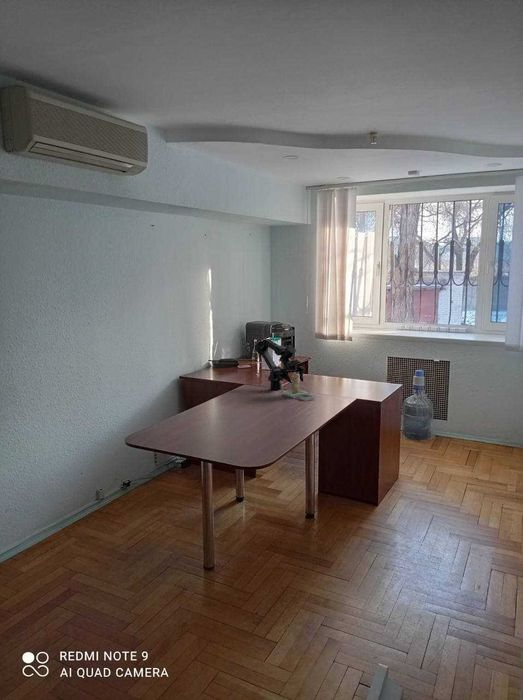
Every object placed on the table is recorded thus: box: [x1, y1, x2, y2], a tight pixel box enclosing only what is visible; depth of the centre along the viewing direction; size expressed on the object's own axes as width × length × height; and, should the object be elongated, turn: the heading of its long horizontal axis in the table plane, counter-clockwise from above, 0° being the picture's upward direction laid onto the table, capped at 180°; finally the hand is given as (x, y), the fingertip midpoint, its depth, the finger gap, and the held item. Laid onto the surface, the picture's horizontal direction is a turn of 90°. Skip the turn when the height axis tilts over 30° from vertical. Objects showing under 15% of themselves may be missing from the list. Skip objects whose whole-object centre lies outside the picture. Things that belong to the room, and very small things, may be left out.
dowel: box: [291, 372, 301, 394], centre depth 328 cm, size 5×5×13 cm
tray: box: [282, 389, 309, 399], centre depth 328 cm, size 12×12×2 cm
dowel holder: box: [296, 393, 315, 402], centre depth 319 cm, size 8×8×2 cm
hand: (296, 382), depth 326 cm, fingers open, 9 cm apart
